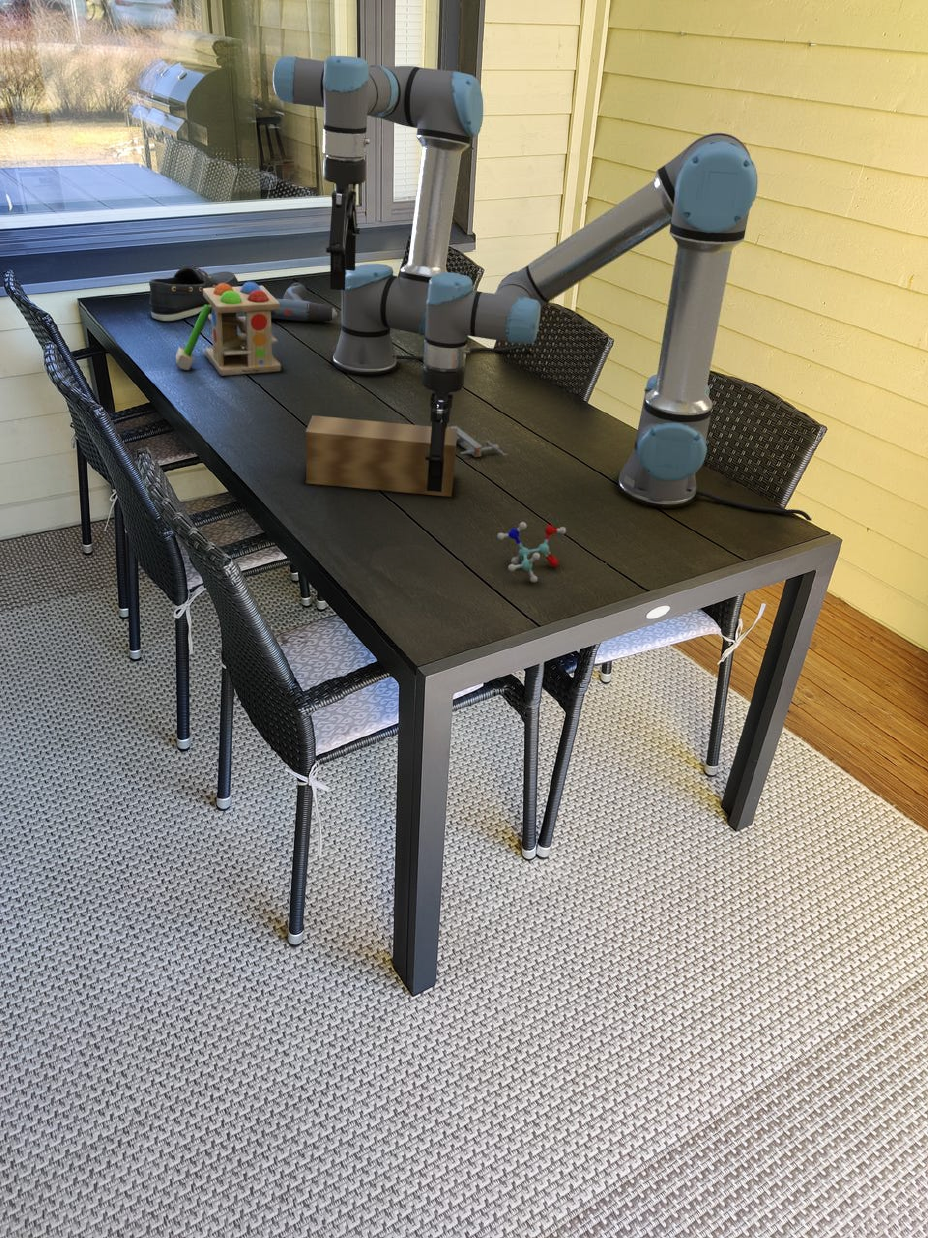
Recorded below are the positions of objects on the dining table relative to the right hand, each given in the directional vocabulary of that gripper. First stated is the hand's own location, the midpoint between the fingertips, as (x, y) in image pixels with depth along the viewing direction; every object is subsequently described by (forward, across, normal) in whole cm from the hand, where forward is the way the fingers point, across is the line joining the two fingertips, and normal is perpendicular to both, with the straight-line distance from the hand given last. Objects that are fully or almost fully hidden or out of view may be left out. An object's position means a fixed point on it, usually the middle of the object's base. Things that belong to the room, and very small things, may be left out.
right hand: (435, 480), depth 187 cm
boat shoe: (+1, +94, +71) cm, 118 cm away
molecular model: (+1, -28, -17) cm, 32 cm away
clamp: (+1, +18, -6) cm, 19 cm away
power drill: (+1, +97, +42) cm, 105 cm away
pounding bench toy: (+1, +52, +53) cm, 74 cm away
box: (+1, 0, +10) cm, 10 cm away
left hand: (-31, +19, +21) cm, 42 cm away
